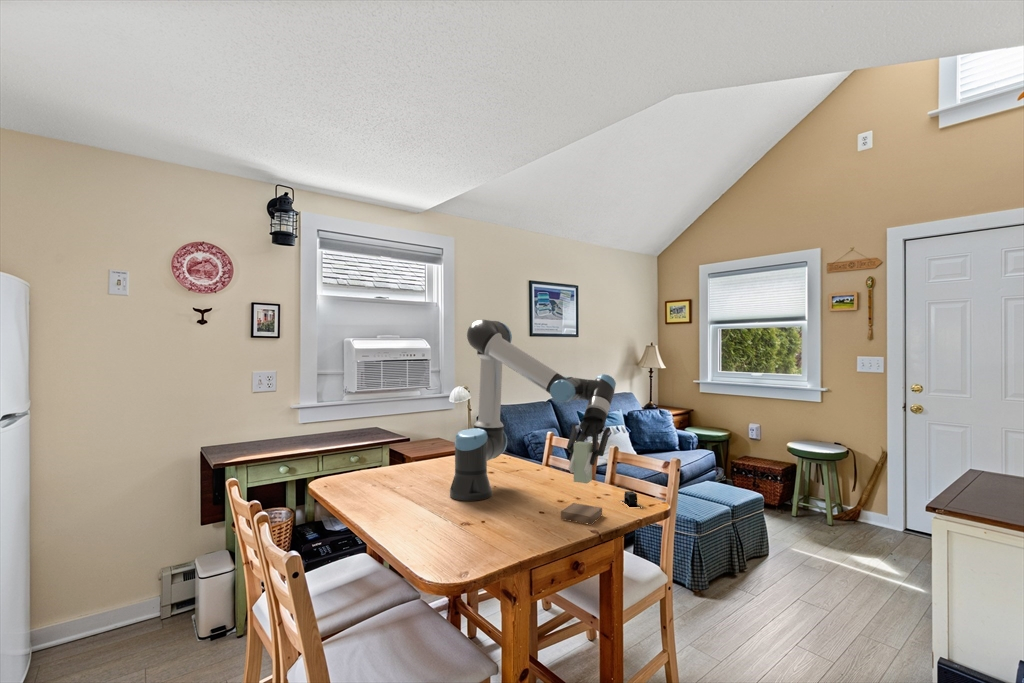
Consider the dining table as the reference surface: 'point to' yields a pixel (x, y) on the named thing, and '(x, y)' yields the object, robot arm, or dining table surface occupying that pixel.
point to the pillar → (582, 461)
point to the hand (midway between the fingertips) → (578, 471)
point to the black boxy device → (631, 499)
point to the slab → (581, 513)
